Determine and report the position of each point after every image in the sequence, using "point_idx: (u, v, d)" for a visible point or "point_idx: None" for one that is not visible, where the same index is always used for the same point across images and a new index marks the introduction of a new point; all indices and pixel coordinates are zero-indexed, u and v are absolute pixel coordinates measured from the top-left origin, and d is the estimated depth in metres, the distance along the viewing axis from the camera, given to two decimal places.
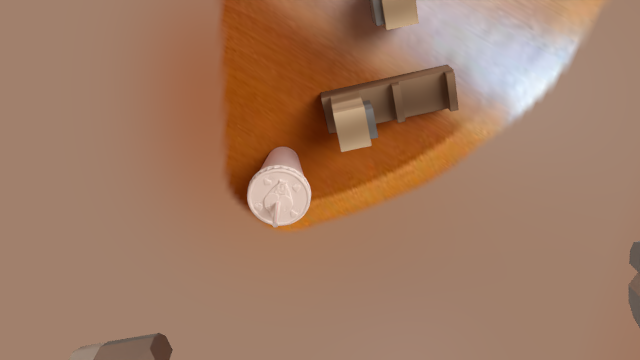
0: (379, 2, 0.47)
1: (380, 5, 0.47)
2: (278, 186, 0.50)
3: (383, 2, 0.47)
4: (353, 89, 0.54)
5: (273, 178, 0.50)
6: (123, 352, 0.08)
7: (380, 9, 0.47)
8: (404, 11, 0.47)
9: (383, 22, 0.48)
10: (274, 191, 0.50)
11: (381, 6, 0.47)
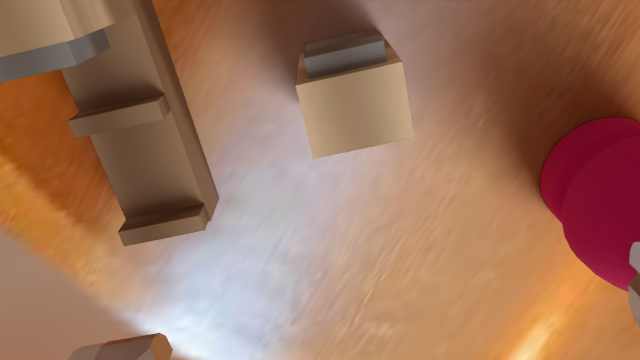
0: (360, 62, 0.19)
1: (352, 66, 0.19)
2: None
3: (362, 74, 0.19)
4: (139, 0, 0.22)
5: None
6: (123, 352, 0.08)
7: (343, 65, 0.19)
8: (340, 125, 0.20)
9: (312, 74, 0.19)
10: None
11: (350, 67, 0.19)
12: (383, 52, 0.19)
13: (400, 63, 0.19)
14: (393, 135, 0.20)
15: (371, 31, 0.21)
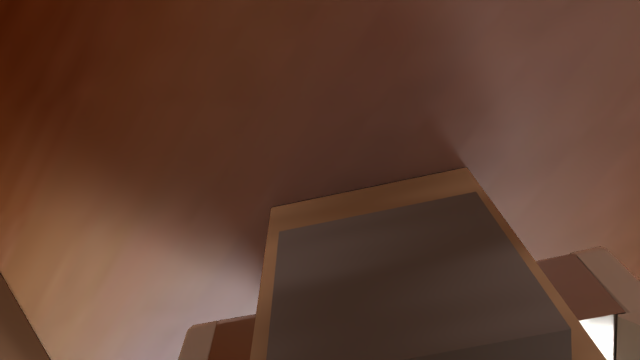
0: None
1: None
2: None
3: None
4: None
5: None
6: (243, 329, 0.08)
7: None
8: None
9: None
10: None
11: None
12: None
13: None
14: None
15: (474, 213, 0.07)
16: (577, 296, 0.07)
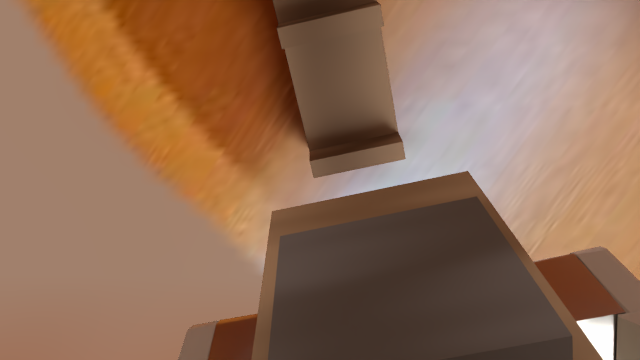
0: None
1: None
2: None
3: None
4: None
5: None
6: (243, 329, 0.08)
7: None
8: None
9: None
10: None
11: None
12: None
13: None
14: None
15: (475, 218, 0.07)
16: (578, 297, 0.07)
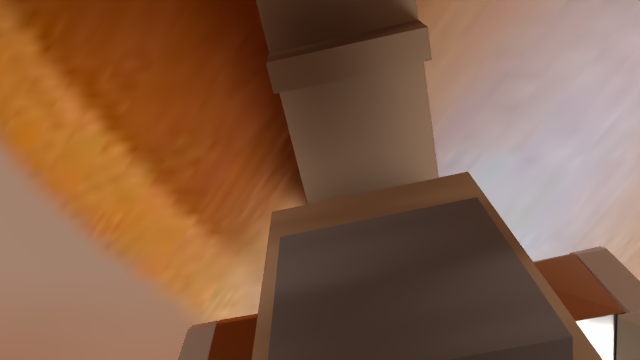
0: None
1: None
2: None
3: None
4: None
5: None
6: (243, 329, 0.08)
7: None
8: None
9: None
10: None
11: None
12: None
13: None
14: None
15: (475, 219, 0.07)
16: (577, 297, 0.07)
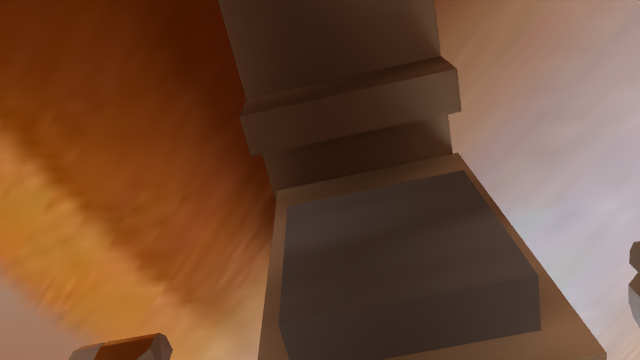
0: (457, 332, 0.06)
1: (431, 342, 0.06)
2: None
3: None
4: None
5: None
6: (123, 352, 0.08)
7: (403, 340, 0.06)
8: None
9: None
10: None
11: (426, 347, 0.06)
12: (533, 306, 0.06)
13: (598, 356, 0.06)
14: None
15: (461, 188, 0.08)
16: None
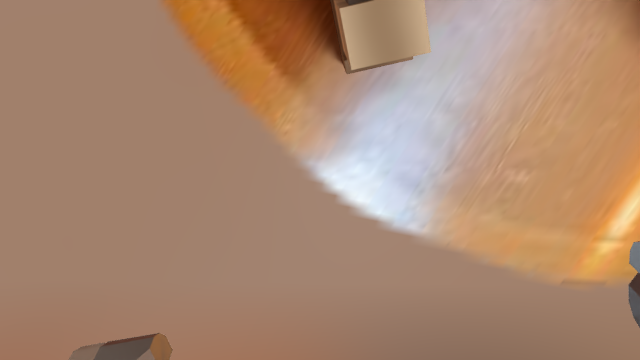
0: None
1: None
2: None
3: None
4: None
5: None
6: (123, 352, 0.08)
7: None
8: (373, 42, 0.25)
9: (352, 1, 0.25)
10: None
11: None
12: None
13: None
14: (414, 50, 0.25)
15: None
16: None
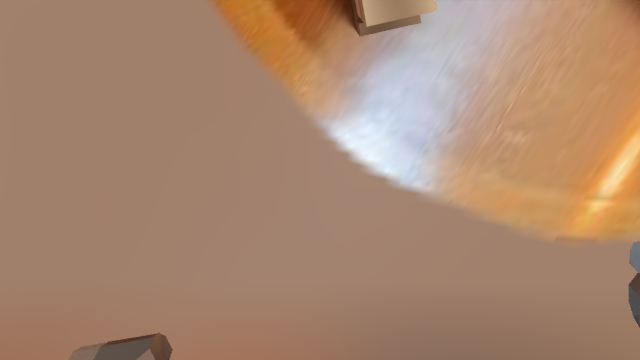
0: None
1: None
2: None
3: None
4: None
5: None
6: (123, 352, 0.08)
7: None
8: (386, 1, 0.28)
9: None
10: None
11: None
12: None
13: None
14: (423, 8, 0.28)
15: None
16: None
